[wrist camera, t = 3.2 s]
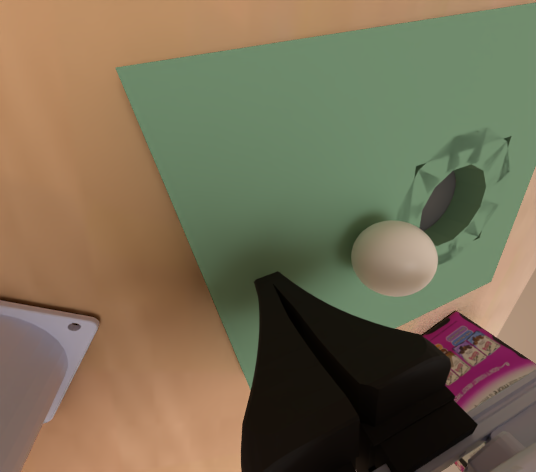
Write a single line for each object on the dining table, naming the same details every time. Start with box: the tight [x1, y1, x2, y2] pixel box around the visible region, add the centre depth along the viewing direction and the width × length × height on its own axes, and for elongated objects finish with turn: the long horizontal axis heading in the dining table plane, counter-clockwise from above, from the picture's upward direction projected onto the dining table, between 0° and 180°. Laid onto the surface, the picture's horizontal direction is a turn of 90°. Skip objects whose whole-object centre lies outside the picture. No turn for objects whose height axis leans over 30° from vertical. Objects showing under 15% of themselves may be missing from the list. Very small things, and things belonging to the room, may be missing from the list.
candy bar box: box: [422, 311, 536, 472], centre depth 20 cm, size 11×5×16 cm, turn 119°
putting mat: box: [116, 3, 536, 390], centre depth 15 cm, size 24×20×2 cm
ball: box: [351, 220, 438, 297], centre depth 12 cm, size 4×4×4 cm
